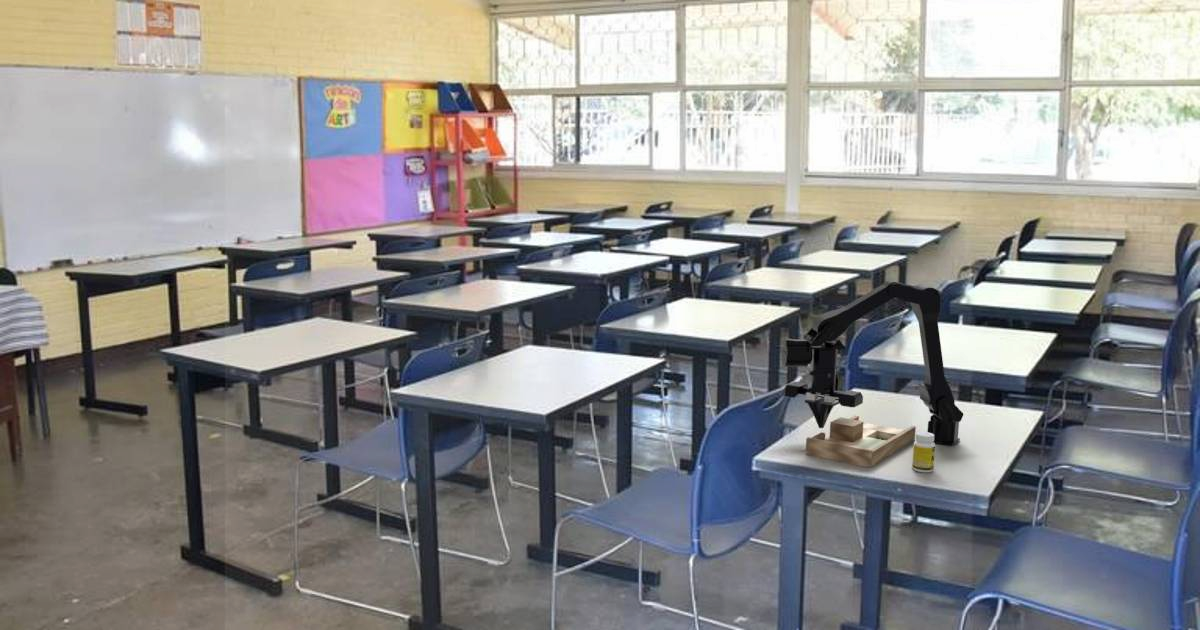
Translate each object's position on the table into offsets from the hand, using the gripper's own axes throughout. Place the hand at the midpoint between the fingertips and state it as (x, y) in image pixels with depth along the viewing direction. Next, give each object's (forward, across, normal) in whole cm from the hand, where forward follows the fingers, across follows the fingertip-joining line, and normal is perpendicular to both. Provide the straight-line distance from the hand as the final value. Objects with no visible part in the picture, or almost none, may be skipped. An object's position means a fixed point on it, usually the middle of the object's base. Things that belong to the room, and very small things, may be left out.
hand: (821, 427), depth 257 cm
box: (+3, -10, -2) cm, 11 cm away
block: (+1, -6, 0) cm, 7 cm away
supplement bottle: (+4, -28, +6) cm, 29 cm away
